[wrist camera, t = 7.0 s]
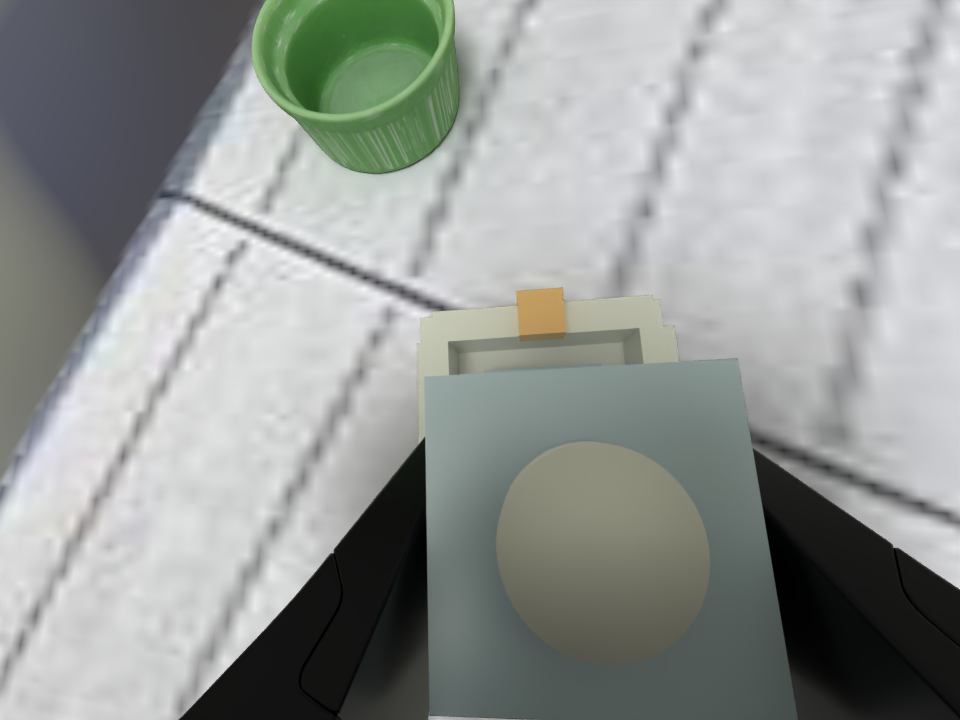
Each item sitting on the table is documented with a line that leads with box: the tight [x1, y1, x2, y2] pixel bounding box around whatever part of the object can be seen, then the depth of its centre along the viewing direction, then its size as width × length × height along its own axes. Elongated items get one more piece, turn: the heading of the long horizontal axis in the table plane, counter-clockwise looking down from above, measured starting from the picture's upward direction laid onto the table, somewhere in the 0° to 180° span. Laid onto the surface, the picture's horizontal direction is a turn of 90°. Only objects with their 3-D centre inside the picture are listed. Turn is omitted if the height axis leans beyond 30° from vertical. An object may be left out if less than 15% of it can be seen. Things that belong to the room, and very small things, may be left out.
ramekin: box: [252, 0, 459, 173], centre depth 18 cm, size 9×9×4 cm
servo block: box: [424, 358, 798, 720], centre depth 10 cm, size 8×4×11 cm, turn 2°
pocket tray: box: [417, 287, 679, 443], centre depth 14 cm, size 13×10×4 cm
